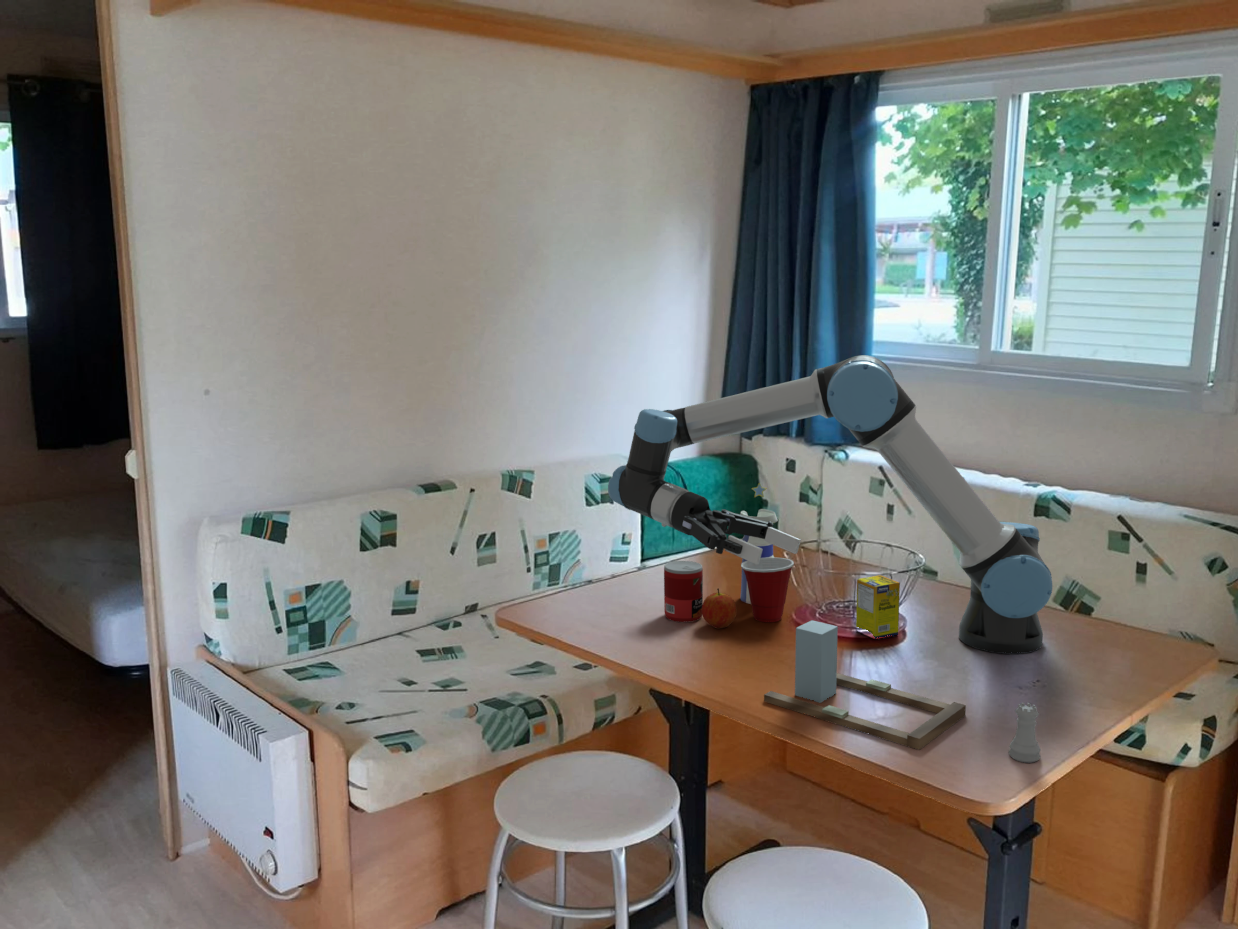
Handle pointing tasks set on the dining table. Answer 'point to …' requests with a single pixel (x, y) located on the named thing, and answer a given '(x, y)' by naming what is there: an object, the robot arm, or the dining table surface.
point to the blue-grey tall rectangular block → (816, 661)
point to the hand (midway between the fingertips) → (779, 551)
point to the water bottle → (757, 541)
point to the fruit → (719, 610)
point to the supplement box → (878, 605)
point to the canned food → (683, 591)
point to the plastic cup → (768, 586)
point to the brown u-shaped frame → (915, 739)
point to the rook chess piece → (1025, 735)
